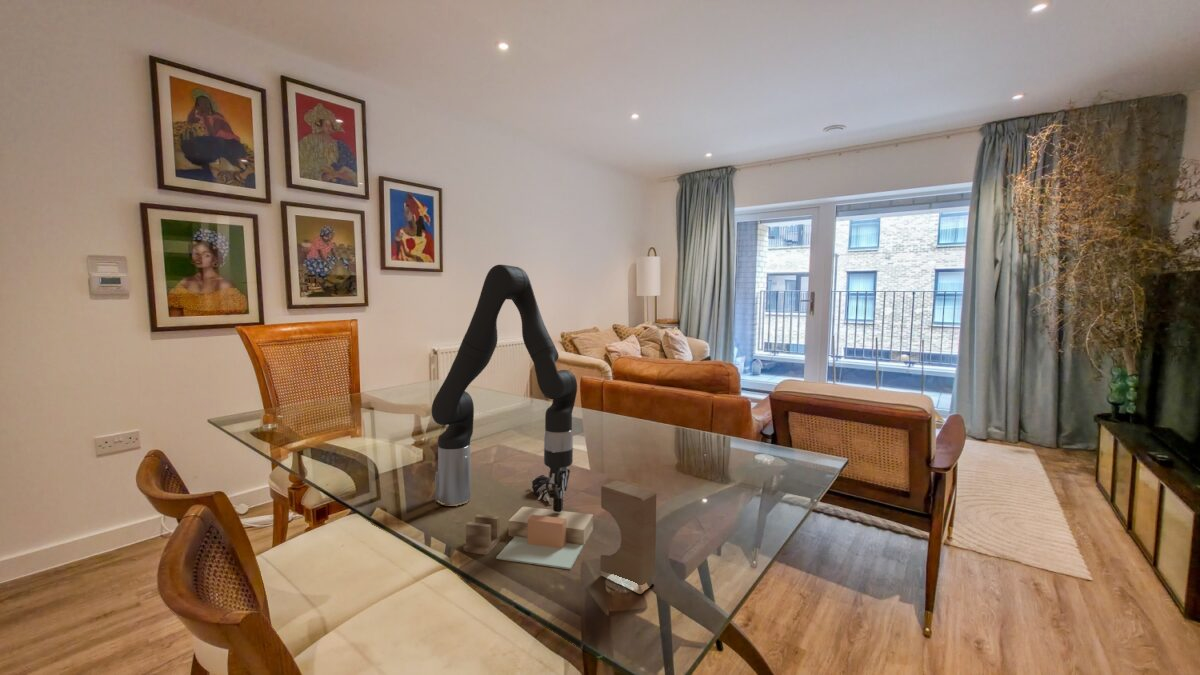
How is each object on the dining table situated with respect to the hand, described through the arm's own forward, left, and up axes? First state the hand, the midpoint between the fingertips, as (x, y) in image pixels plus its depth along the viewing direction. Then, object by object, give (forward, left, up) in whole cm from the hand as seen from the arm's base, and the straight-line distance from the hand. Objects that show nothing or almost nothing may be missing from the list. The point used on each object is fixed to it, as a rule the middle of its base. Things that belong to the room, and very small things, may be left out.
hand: (558, 510), depth 123 cm
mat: (0, -13, -5) cm, 14 cm away
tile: (0, -8, -1) cm, 8 cm away
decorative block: (+22, -19, -5) cm, 30 cm away
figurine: (-11, +20, -5) cm, 24 cm away
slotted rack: (-15, -13, -5) cm, 20 cm away
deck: (-1, -3, -5) cm, 6 cm away
